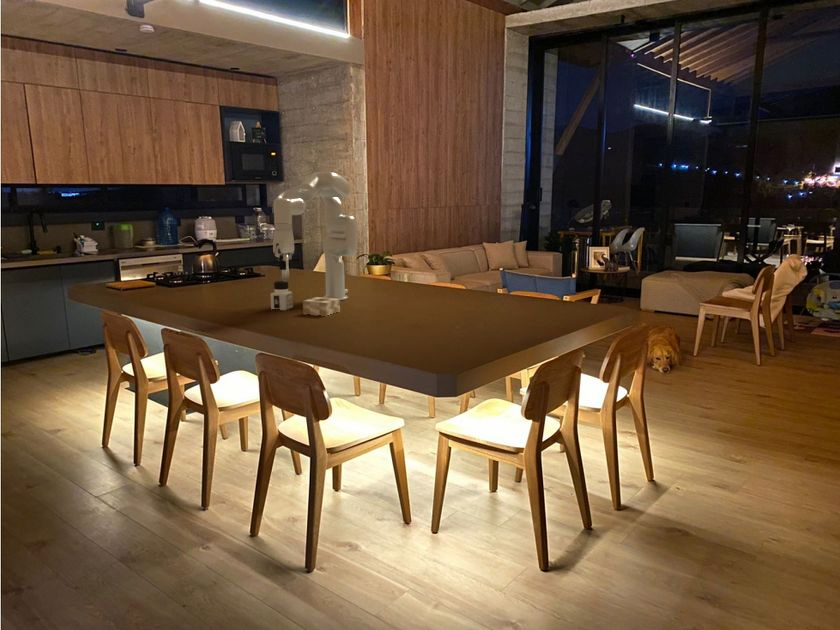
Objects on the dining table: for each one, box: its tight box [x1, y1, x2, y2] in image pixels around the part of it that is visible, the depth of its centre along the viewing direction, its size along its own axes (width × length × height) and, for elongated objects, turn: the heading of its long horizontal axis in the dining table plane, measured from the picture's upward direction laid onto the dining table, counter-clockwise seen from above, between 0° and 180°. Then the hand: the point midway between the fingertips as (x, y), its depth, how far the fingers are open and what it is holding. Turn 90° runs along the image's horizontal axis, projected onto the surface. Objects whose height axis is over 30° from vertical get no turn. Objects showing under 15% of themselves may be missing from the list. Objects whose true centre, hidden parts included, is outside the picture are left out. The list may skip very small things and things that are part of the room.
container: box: [270, 280, 294, 311], centre depth 297 cm, size 8×8×13 cm
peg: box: [281, 253, 290, 280], centre depth 280 cm, size 3×3×12 cm
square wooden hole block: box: [302, 296, 341, 317], centre depth 287 cm, size 12×12×6 cm
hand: (285, 268), depth 280 cm, fingers closed on peg, 3 cm apart
